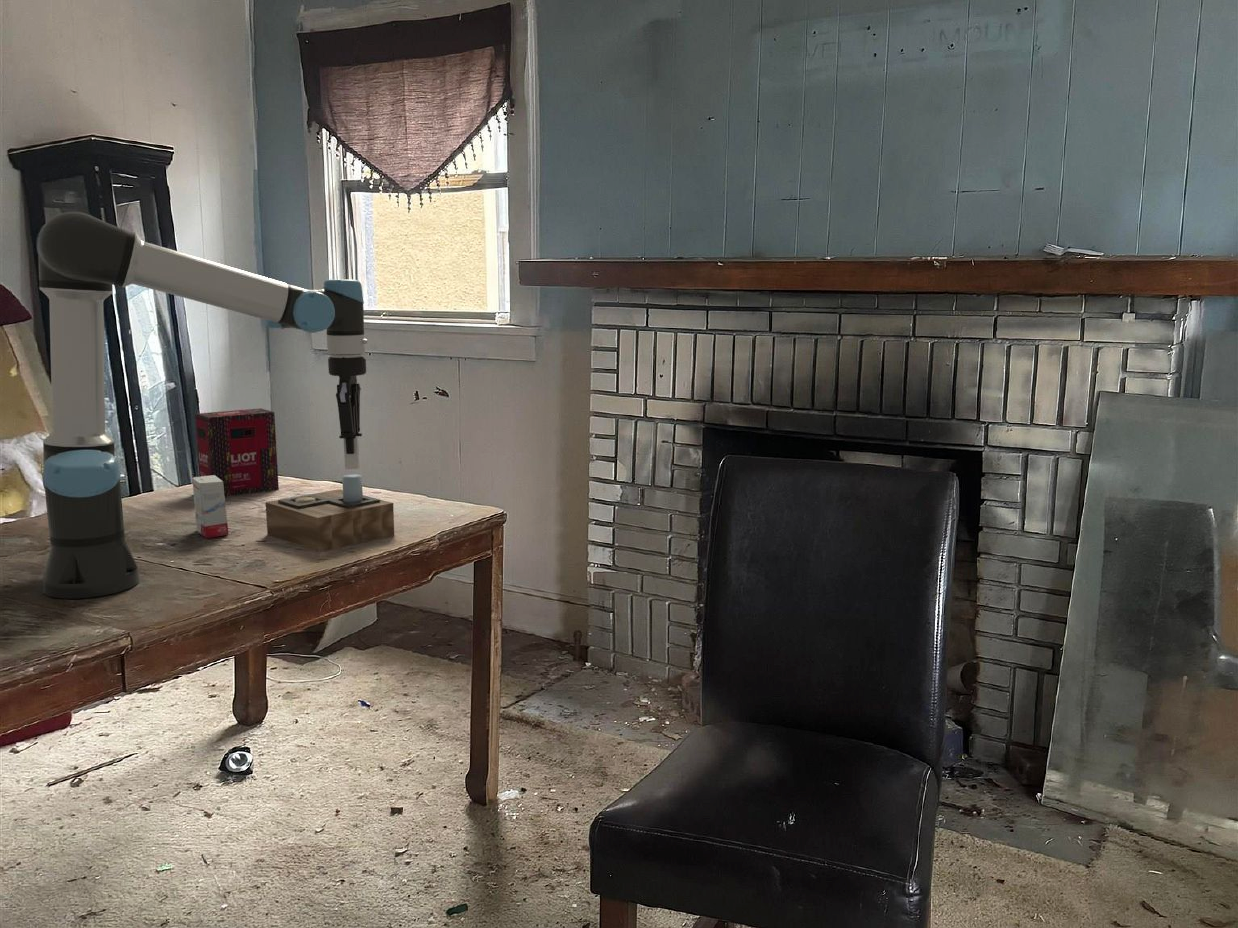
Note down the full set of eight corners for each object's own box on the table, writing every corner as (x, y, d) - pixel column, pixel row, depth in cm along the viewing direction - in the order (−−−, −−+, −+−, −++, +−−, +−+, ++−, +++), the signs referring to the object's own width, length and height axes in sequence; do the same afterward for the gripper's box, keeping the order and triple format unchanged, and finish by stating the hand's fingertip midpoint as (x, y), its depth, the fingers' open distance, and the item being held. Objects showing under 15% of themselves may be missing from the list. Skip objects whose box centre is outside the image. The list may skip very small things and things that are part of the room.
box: (265, 484, 266) (260, 408, 262) (278, 489, 259) (274, 412, 255) (200, 492, 255) (195, 413, 252) (212, 498, 249) (207, 417, 245)
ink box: (229, 536, 214) (225, 481, 212) (203, 539, 211) (199, 483, 209) (219, 527, 221) (216, 474, 219) (195, 530, 218) (191, 476, 216)
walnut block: (319, 551, 202) (317, 514, 201) (267, 534, 215) (265, 499, 214) (394, 535, 215) (393, 500, 214) (341, 519, 228) (339, 486, 227)
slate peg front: (350, 514, 212) (349, 479, 210) (340, 511, 214) (338, 476, 213) (367, 511, 215) (365, 476, 213) (356, 508, 217) (354, 473, 216)
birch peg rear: (303, 537, 212) (302, 502, 211) (293, 533, 215) (291, 499, 213) (320, 533, 215) (319, 499, 214) (310, 530, 218) (308, 496, 216)
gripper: (359, 358, 202) (364, 474, 207) (371, 353, 215) (376, 462, 220) (320, 358, 202) (327, 474, 206) (335, 353, 215) (340, 462, 219)
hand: (352, 468), depth 213 cm, fingers closed
